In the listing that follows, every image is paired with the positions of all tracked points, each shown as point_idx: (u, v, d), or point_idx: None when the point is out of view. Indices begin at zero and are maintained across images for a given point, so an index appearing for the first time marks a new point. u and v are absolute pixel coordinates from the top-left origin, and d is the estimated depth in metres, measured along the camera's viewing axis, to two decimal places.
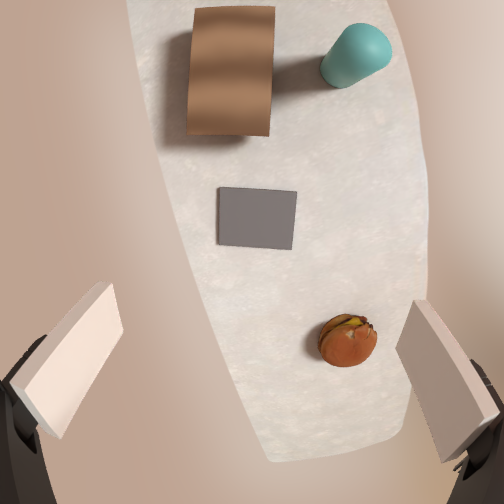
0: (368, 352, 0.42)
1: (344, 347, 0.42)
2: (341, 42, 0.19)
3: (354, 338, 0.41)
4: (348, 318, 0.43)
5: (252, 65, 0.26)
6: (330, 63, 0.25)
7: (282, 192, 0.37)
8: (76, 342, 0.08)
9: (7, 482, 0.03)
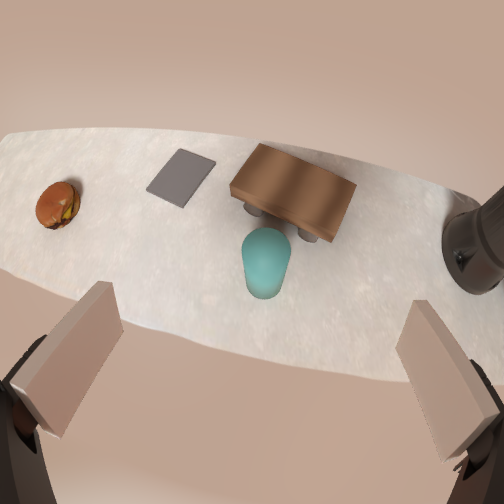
0: (40, 212, 0.41)
1: (56, 195, 0.43)
2: (275, 230, 0.30)
3: (57, 203, 0.42)
4: (72, 211, 0.44)
5: (288, 196, 0.39)
6: None
7: (187, 197, 0.45)
8: (76, 341, 0.08)
9: (7, 482, 0.03)
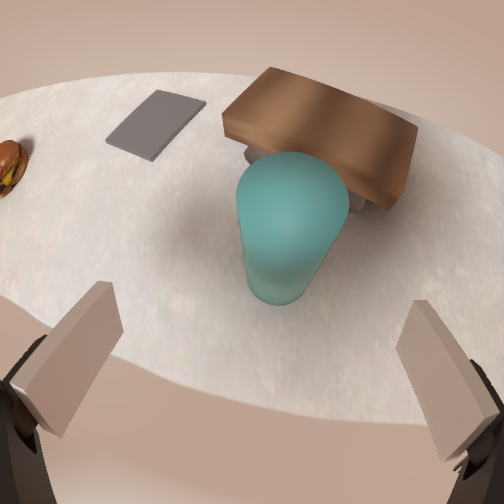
0: None
1: None
2: (311, 157, 0.13)
3: None
4: (14, 175, 0.28)
5: (320, 130, 0.22)
6: None
7: (160, 145, 0.28)
8: (76, 341, 0.08)
9: (7, 482, 0.03)
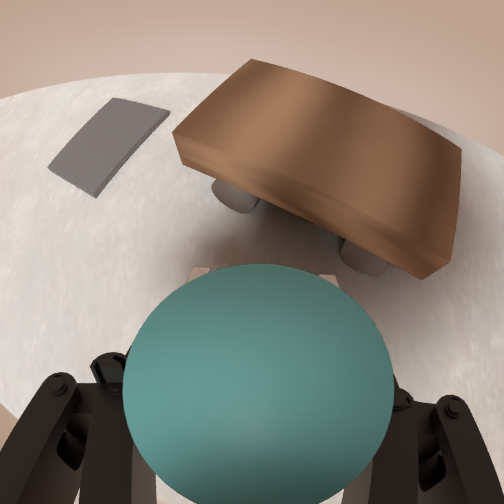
0: None
1: None
2: (313, 278, 0.05)
3: None
4: None
5: (325, 157, 0.14)
6: None
7: (106, 175, 0.20)
8: None
9: (120, 492, 0.04)
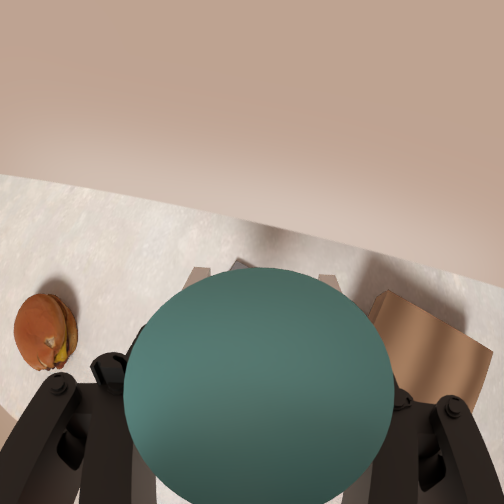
0: (21, 347, 0.24)
1: (39, 325, 0.26)
2: (314, 282, 0.05)
3: (43, 342, 0.25)
4: (69, 349, 0.27)
5: (425, 389, 0.21)
6: None
7: None
8: None
9: (120, 492, 0.04)
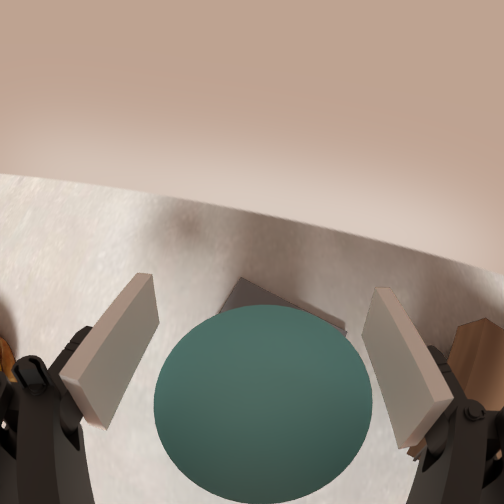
0: None
1: None
2: (308, 316, 0.06)
3: None
4: None
5: None
6: None
7: None
8: (123, 331, 0.09)
9: (48, 483, 0.03)
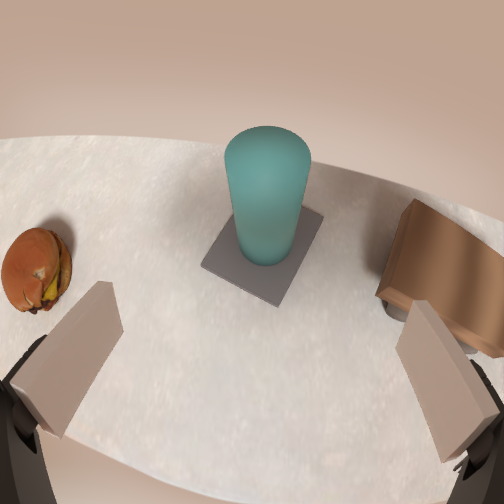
0: (6, 285, 0.22)
1: (30, 257, 0.23)
2: (282, 129, 0.17)
3: (32, 275, 0.22)
4: (60, 286, 0.25)
5: (469, 303, 0.19)
6: None
7: (287, 287, 0.25)
8: (76, 342, 0.08)
9: (7, 482, 0.03)
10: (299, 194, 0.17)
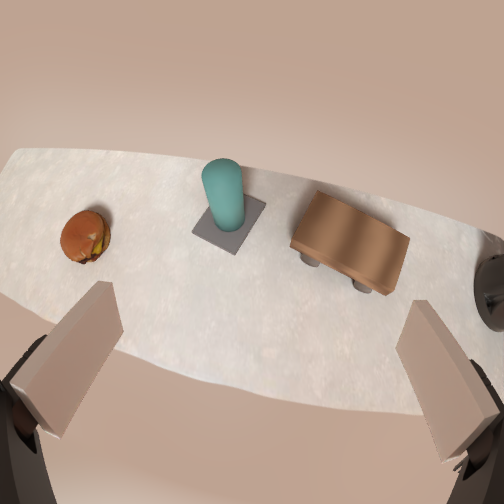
0: (66, 245, 0.41)
1: (84, 227, 0.42)
2: (229, 159, 0.36)
3: (86, 237, 0.42)
4: (103, 246, 0.44)
5: (350, 252, 0.38)
6: None
7: (240, 243, 0.45)
8: (76, 341, 0.08)
9: (7, 482, 0.03)
10: (237, 191, 0.36)
